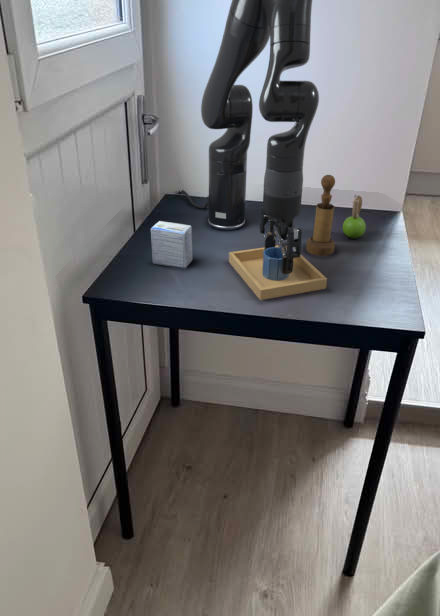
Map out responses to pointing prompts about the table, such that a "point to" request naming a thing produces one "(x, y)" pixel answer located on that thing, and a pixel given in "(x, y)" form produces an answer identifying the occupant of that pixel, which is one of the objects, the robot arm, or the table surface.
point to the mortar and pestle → (323, 222)
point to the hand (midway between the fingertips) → (277, 264)
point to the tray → (251, 272)
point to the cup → (273, 264)
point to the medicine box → (171, 244)
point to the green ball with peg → (354, 221)
